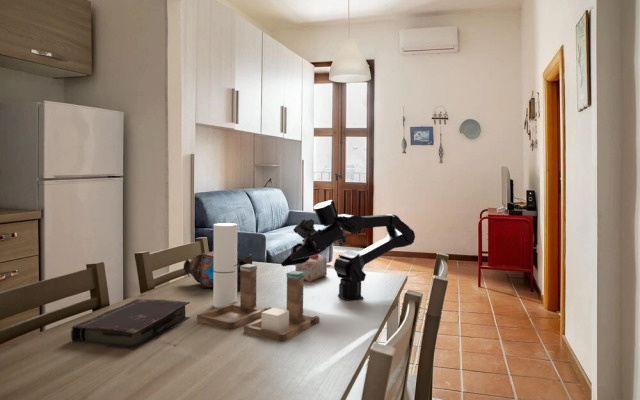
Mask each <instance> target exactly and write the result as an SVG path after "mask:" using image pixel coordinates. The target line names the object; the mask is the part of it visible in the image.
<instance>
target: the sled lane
mask: <svg viewBox="0 0 640 400" xmlns="http://www.w3.org/2000/svg"><path fill="white" fill-rule="evenodd" d="M303 277H304V272H299V271H295V270H291V271H289V272H286V310H288V311H289V329H288V330H286V331H284V332H282V333H281V332H276V331H272V330H267V329H263V328H261V318H258V319H256V320H253V321H251V322H249V323H246V324H244V325H243V333H245V334H248V335H253V336H257V337H260V338H263V339H264V338H265V339H269V340H274V341H277V342H282V343H284V342H286V341H288V340H289V339H291V338H293V337H295V336H297V335H299V334H301V333H303V332H304V331H306V330H308V329H310V328H312V327H314V326H315V325H317V324H320V316H318V315H315V316H310V315H304V281H303ZM283 310H285V309H283Z"/></svg>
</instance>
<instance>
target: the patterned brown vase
mask: <svg viewBox="0 0 640 400" xmlns="http://www.w3.org/2000/svg"><path fill="white" fill-rule="evenodd" d="M245 264H252V265H253V256H252V254H251V253H250V254H249V256H246V257H243V258H238V257H237V292H239V291H240V284H241V270H240V266H242V265H245ZM213 265H214V250H212V251H208V252H203V253H201V254H198V255H196V256H195V257H194V258H193V259H192V261H190V260H189V259H188V258H185V262H184V264H183V270H184V273H185V274H187V276H188V278H190V275H191V276H192V278H193V279H194V280H195V281H196V282H197V283H198V284H199V289H207V288H209V289H210V288H213V271H214V270H213ZM189 273H190V274H189Z"/></svg>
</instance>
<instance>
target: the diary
mask: <svg viewBox="0 0 640 400" xmlns="http://www.w3.org/2000/svg"><path fill="white" fill-rule="evenodd" d="M189 304H191V302H190V301H184V300H183V301H182V300H180V301H179V300H172V299H171V300H169V299H153V298H151V299H147V298H146V299H142V298H136V299H134V300H132V301H129V302H128V303H125V304H124V305H123V304H122V305H121V306H119V307H116V308H113V309H110V310H108V311H105V312H104V313H101V314H98V315H97V316H95V317H92V318H90V319H87V320H85V321H83V322H79V323H77V324H74V325H72V326H71V329H70V330H71V331H70V336H71V342H73V343H74V342H76V341H79V340H81V342H82V341H83V342H86V343H93V344H98V343H99V345H106V346H107V347H110V348H116V349H124V350H125V349H126V350H135V349H138V348H140V347H142V346H144V345H146V344H148V343H149V342H151V341H153V340H154V339H156V338H157V337H159V336H161V335H162V334H164V333H167V332H168V331H171V330H172V329H173V328H174V327H175V326H177V325H179V324H182V323H184V322H186V321H187V320H189V319H191V317H190V316H186V306H187V305H189Z"/></svg>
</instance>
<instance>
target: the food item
mask: <svg viewBox="0 0 640 400" xmlns="http://www.w3.org/2000/svg"><path fill="white" fill-rule="evenodd" d="M327 261H328V260H327V257H326V256H324V255H321V254H317V255H315V256H311V257H310V258H309V260H308V261H306V262H304V263H303V264H298V265H294V266H295V270H294V271H299V272H304V277H303V282H310V283H311V282H314V281H315V280H317V279H321V278H323V277H325V276H327V274H328V273H327V271H328V270H327Z"/></svg>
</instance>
